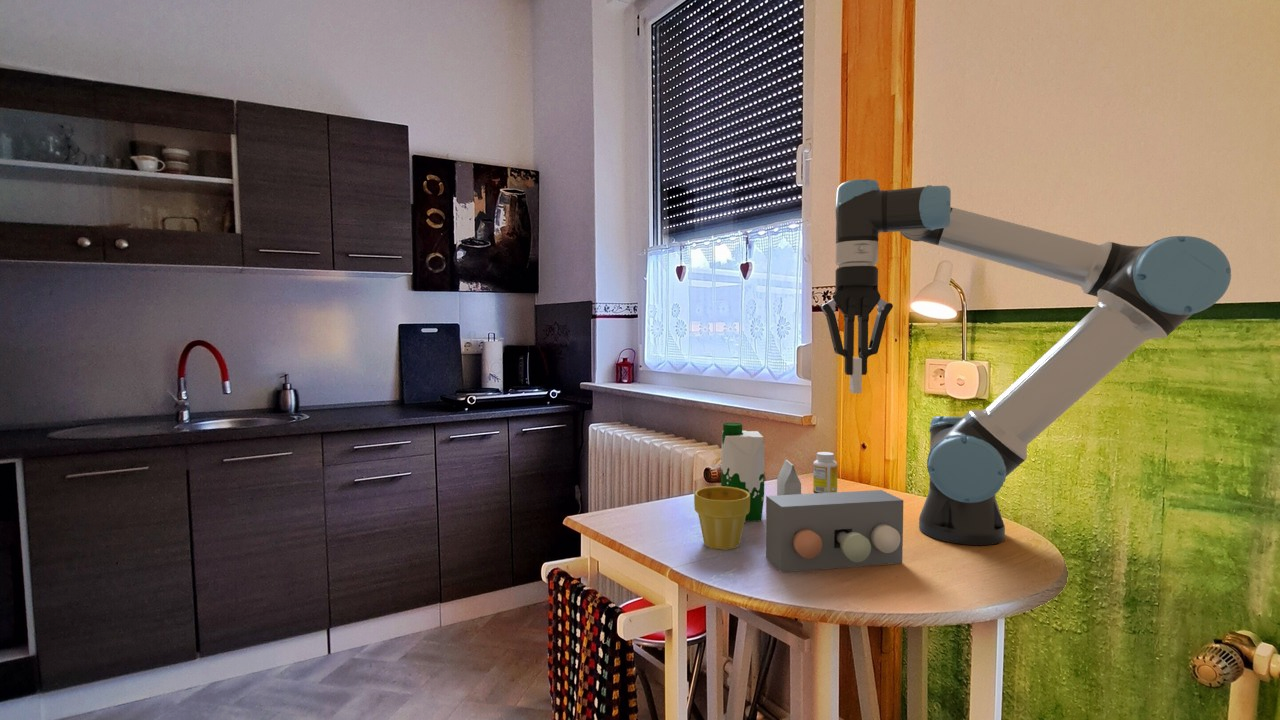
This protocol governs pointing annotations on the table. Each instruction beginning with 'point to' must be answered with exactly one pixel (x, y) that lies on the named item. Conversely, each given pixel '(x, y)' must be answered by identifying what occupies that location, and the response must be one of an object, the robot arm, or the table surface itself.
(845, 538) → the sage button
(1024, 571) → the table surface
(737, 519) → the plant pot
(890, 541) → the ivory button
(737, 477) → the milk carton
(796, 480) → the white gabled block
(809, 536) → the terracotta button
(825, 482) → the supplement bottle
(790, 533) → the control box
